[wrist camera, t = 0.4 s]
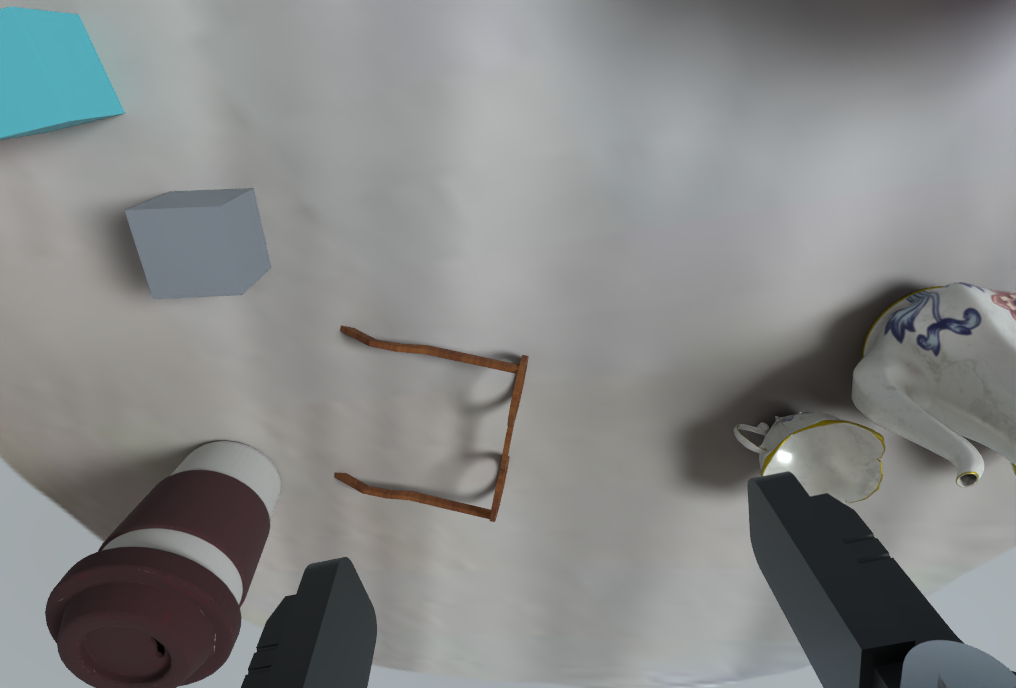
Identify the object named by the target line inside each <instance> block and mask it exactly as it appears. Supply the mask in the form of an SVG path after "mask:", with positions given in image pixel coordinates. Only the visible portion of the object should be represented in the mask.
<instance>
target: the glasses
mask: <svg viewBox="0 0 1016 688" xmlns="http://www.w3.org/2000/svg"><path fill="white" fill-rule="evenodd" d="M340 331H342V332H344V333H346V334H347V335H349V336H351V337H353V338H355V339H357V340H359V341H361V342H362V343H364V344H366V345H368V346H372V347H377V348H382V349H386V350H391V351H396V352H407V353H419V354H427V355H432V356H437V357H441V358H446V359H451V360H455V361H460V362H465V363H469V364H474V365H479V366H483V367H488V368H493V369H497V370H502V371H507V372H511V373H516V374H517V377H516V381H515V385H514V390H513V395H512V400H511V405H510V411H509V417H508V428H507V433H506V438H505V443H504V449H503V454H502V460H501V466H500V472H499V476H498V480H497V485H496V489H495V494H494V499H493V504H492V509H491V510H489V509H485V508H481V507H476V506H472V505H468V504H464V503H459V502H455V501H451V500H447V499H442V498H438V497H434V496H430V495H425V494H421V493H417V492H413V491H398V490H388V489H382V488H376V487H370V486H368V485H366V484H364V483H362V482H361V481H359V480H357V479H355V478H354V477H352V476H350V475H348V474H347V473H335V478H337V479H339V480H341V481H342V482H344V483H346V484H347V485H349V486H351V487H352V488H354V489H356V490H358V491H359V492H361V493H363V494H368V495H373V496H378V497H382V498H389V499H401V500H411V501H415V502H419V503H424V504H428V505H432V506H436V507H441V508H445V509H449V510H453V511H457V512H462V513H466V514H470V515H474V516H479V517H483V518H487V519H490V521H492V522H495V520H496V517H497V513H498V510H499V506H500V501H501V497H502V493H503V488H504V484H505V479H506V474H507V469H508V463H509V456H508V453H509V448H510V442H511V437H512V432H513V427H514V422H515V419H516V415H517V411H518V407H519V403H520V399H521V394H522V389H523V384H524V379H525V374H526V369H527V363H528V356H525V355H523V356H522V358H521V361H520V365H517V364H513V363H508V362H503V361H499V360H494V359H489V358H485V357H480V356H475V355H470V354H466V353H461V352H456V351H452V350H447V349H442V348H438V347H433V346H428V345H413V344H400V343H393V342H387V341H380V340H376V339H374V338H372V337H370V336H368V335H366V334H364V333H362V332H361V331H359V330H357V329H355V328H351V327H346V326H341V330H340Z"/></svg>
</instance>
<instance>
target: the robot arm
mask: <svg viewBox="0 0 1016 688" xmlns="http://www.w3.org/2000/svg"><path fill="white" fill-rule="evenodd" d="M748 503H749V522H750V538H751V543H752V547H753V551H754V554H755V557H756V560H757V563H758V565H759V567H760V569H761V571H762V573H763V575H764V577H765V579H766V581H767V582H768V584H769V586H770V588H771V590H772V592H773V594H774V596H775V597H776V599H777V601H778V603H779V605H780V607H781V609H782V611H783V612H784V614H785V616H786V618H787V620H788V622H789V624H790V626H791V627H792V629H793V631H794V633H795V635H796V637H797V639H798V641H799V642H800V644H801V646H802V648H803V650H804V652H805V654H806V656H807V657H808V659H809V661H810V663H811V665H812V667H813V669H814V670H815V672H816V674H817V676H818V678H819V680H820V682H821V684H822V685H823V687H824V688H1016V672H1013V671H1011V670H1010V669H1009V668H1007V667H1006V666H1005V665H1004V664H1002V663H1001V662H1000V661H998V660H997V659H995V658H994V657H992V656H991V655H989V654H987V653H985V652H983V651H981V650H979V649H977V648H974V647H972V646H969V645H966V644H964V643H963V642H962V641H961V640H960V639H959V638H958V637H957V636H956V635H955V634H954V633H953V631H952V630H951V629H950V628H949V626H948V625H947V624H946V623H945V621H944V620H943V619H942V618H941V617H940V615H939V614H938V613H937V612H936V610H935V609H934V608H933V607H932V606H931V604H930V603H929V602H928V601H927V599H926V598H925V597H924V596H923V594H922V593H921V592H920V591H919V589H918V588H917V587H916V586H915V584H914V583H913V582H912V581H911V579H910V578H909V577H908V576H907V575H906V573H905V572H904V571H903V570H902V568H901V567H900V566H899V565H898V563H897V562H896V561H895V560H894V558H891V557H890V556H889V552H888V551H887V550H886V549H885V547H884V546H883V545H882V544H881V542H880V541H879V540H878V539H877V538H875V537H874V535H873V533H872V531H871V530H870V529H869V528H868V526H867V525H866V524H865V523H864V521H863V520H862V519H861V518H860V516H859V515H858V514H857V513H856V512H855V510H853V509H851V508H850V507H848V506H847V505H845V504H844V503H842V502H841V501H839V500H837V499H836V498H834V497H833V496H831V495H830V494H828V493H825V494H820V495H815V496H809V494H808V493H807V492H806V490H805V489H804V487H803V486H802V485H801V483H800V482H799V481H798V479H797V478H796V477H795V475H794V474H793V473H791V472H789V471H787V472H782V473H776V474H771V475H766V476H761V477H756V478H751V479H749V480H748ZM376 637H377V622H376V615H375V611H374V607H373V605H372V603H371V601H370V599H369V597H368V595H367V593H366V590H365V588H364V586H363V584H362V582H361V580H360V578H359V576H358V574H357V572H356V570H355V568H354V566H353V564H352V562H351V560H350V559H349V558H347V557H343V558H338V559H333V560H328V561H323V562H318V563H313V564H310V565H308V566H307V568H306V569H305V571H304V574H303V577H302V579H301V582H300V585H299V588H298V591H297V594H295V595H290V596H285V598H284V599H283V600H282V602H281V603H280V604H279V606H278V607H277V608H276V610H275V611H274V612H273V613H272V615H271V616H270V617H269V619H268V620H267V622H266V624H265V627H264V629H263V632H262V634H261V637H260V640H259V643H258V645H257V647H256V648H257V652H256V653H254V655H253V658H252V660H251V663H250V666H249V668H248V675H246V676H245V678H244V681H243V683H242V686H241V688H367V685H368V681H369V675H370V670H371V665H372V659H373V654H374V649H375V643H376Z"/></svg>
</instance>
